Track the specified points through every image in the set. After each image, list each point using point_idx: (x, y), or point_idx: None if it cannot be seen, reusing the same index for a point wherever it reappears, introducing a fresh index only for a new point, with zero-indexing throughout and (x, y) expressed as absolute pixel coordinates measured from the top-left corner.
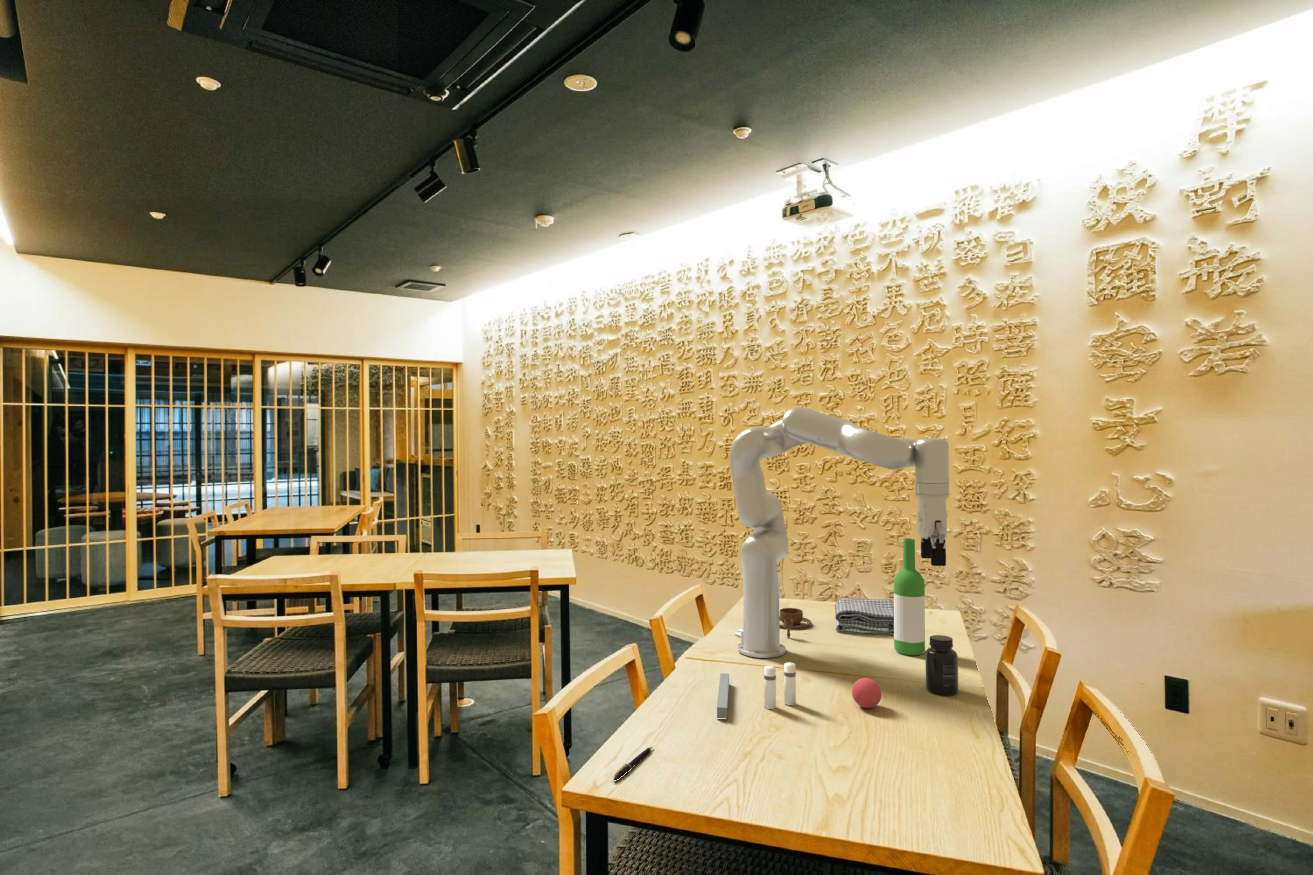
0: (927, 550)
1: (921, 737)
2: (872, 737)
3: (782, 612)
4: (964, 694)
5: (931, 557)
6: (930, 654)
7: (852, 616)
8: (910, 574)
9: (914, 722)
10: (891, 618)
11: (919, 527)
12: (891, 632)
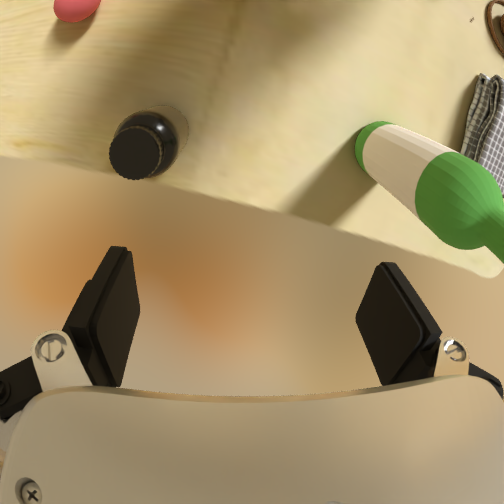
0: (384, 320)
1: (7, 78)
2: (7, 24)
3: None
4: None
5: (94, 275)
6: (127, 118)
7: (494, 104)
8: (467, 214)
9: (41, 70)
10: None
11: (380, 494)
12: None
